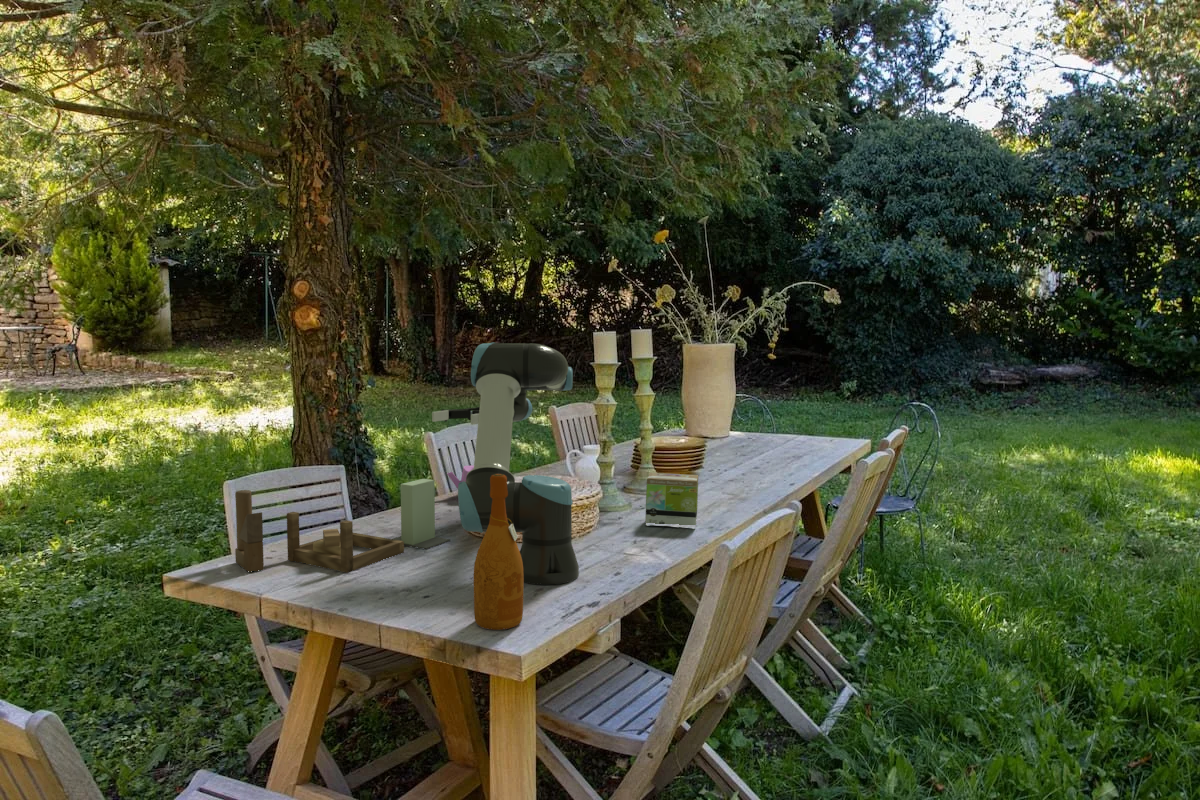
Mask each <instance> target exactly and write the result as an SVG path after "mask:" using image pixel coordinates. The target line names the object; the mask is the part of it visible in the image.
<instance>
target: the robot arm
mask: <svg viewBox="0 0 1200 800" xmlns="http://www.w3.org/2000/svg"><path fill="white" fill-rule="evenodd" d="M470 369H471V370H470V381H471V385H472V386H473V387H475V389H476V393H478V395H480V402H479V406H476V407H467V408H454V409H452V408H451V409H442V408H441V410H437V411H431V418H432V419H431V421H432V422H434V423H435V422H441V421H444V422H447V421H448V420H449V419H450V420H453V419H454V420H455V419H457V420H458V419H467V420H468V421H470V425H477V432H476V441H475V449H474V460H473V461H474V462H473V465H474V469H472V470H471V471H469V472H468V474H467V477H466V482H465V481H463V482H460V483H459V484H458V489H457V499H458V500H457V501H458V511H459V517H460V524H461V526H462V528H463V530H465V531H467V532H471V533H472V532H473V533H476V532H477V533H480V534H483V533H486V530H487V528H488V525H489V522H490V515H491V507H492V498H491V497H490V477H491V476H492V475H494V474H504V475H505V476H506V477H507V491H508V496H507V497H506V498H505V506H506V515H507V518H508V519H507V520H508V524H509V525H511V524H513V525H514V528H515V531H516V533H522V534H521V536H522V537H521V542H522V543H521V546H520V549H519V551H520V554H521V558H522V562H523V574H524V583H526V584H532V585H542V586H543V585H544V586H546V585H547V586H549V585H550V586H551V585H560V584H565V583H569V582H572V581H574V580H576V579H577V578H578V577H579V573H580V572H579V571H580V569H579V567H580V566H579V563H578V560H577V557H576V553H575V549H574V547H573V543H572V541H573V540H572V535H573V534H572V532H573V531H572V529H573V528H572V519H573V518H572V505H573V502H574V501H573V498H572V487H571V485H570V484H569V483H568V482H567V481H566V480H564V479H561V478H558V477H555V476H548V475H539V474H534V475H530V474H529V475H524V476H523V477H522V479H521V482H520V481H519V482H516V479H515V476H514V474H513V473H512V472H510V466H511V465H510V464H511V463H510V462H511V452H512V451H511V450H512V437H513V436H512V435H513V423H515V422H518V423H519V422H522V421H524V420H527V419H528V418H529V417H531V415H532V413H533V405H532V403H531V401H530V399H529V398H527V391H560V392H563V391H571V390H572V389H573V376H574V375H573V368H572V366H569V364H568V361H567V359H566V357H565V356H564V355H563V354H562V353H561V352H560V351H558V350H556V349H555V348H552V347H550V346H547V345H545V344H544V345H543V344H540V343H530V342H529V343H514V342H513V343H512V342H511V343H506V342H504V343H503V342H494V341H493V342H489V343H487V342H486V343H481V344H479V345H477V346H476V348H475V349H474V352H473V356H472V360H471V368H470ZM511 522H512V523H511Z"/></svg>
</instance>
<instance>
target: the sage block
mask: <svg viewBox="0 0 1200 800" xmlns="http://www.w3.org/2000/svg"><path fill="white" fill-rule="evenodd" d="M435 493H436V492H435V479H429V478H420V479H416V480H413V481H408V482H404V483H400V525H401V526H400V536H401V541H404V543H405V544H410V545H414V544H417V543H420V542H423V541H426V540H429V539H432V538H435V537H436V522H435V520H436V518H435V517H436V515H435V512H436V510H435V509H436V508H435V500H436V499H435V497H436V495H435Z"/></svg>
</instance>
